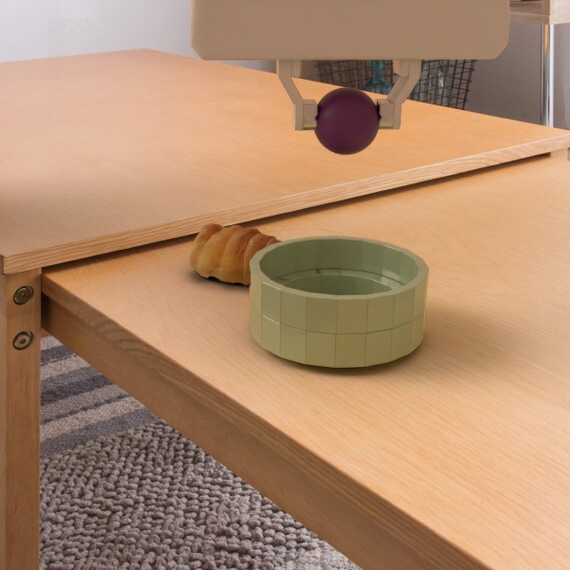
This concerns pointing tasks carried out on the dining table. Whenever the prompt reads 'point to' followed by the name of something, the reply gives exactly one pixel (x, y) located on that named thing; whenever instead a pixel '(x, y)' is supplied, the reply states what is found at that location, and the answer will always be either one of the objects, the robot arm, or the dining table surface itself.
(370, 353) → the basin
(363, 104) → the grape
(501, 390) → the dining table surface
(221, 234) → the pastry
